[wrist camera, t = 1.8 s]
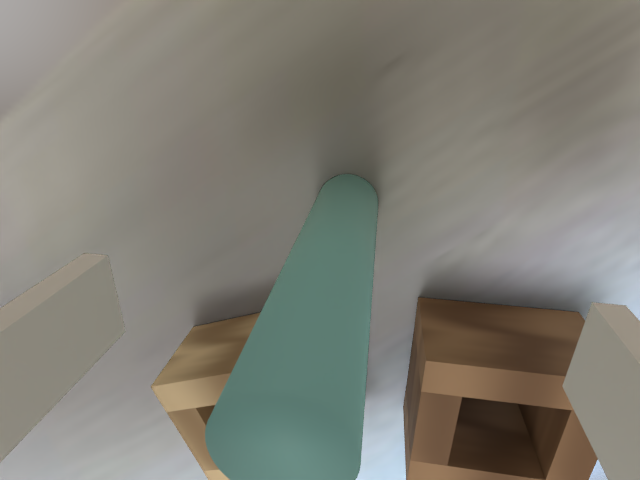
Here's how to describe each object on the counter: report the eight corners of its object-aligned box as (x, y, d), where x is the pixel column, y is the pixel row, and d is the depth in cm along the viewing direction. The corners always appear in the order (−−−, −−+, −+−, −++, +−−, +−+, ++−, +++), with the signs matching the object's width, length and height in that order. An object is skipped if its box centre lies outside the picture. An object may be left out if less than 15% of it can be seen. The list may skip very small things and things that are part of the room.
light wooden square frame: (243, 420, 28) (216, 491, 23) (193, 326, 25) (150, 386, 21) (356, 405, 26) (349, 480, 21) (314, 300, 23) (296, 361, 18)
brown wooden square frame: (403, 407, 25) (406, 484, 21) (418, 297, 22) (425, 360, 17) (540, 424, 24) (575, 509, 20) (578, 312, 21) (630, 384, 16)
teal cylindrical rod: (317, 229, 21) (212, 491, 9) (318, 172, 20) (196, 382, 7) (375, 233, 21) (356, 515, 8) (380, 176, 19) (365, 403, 7)
